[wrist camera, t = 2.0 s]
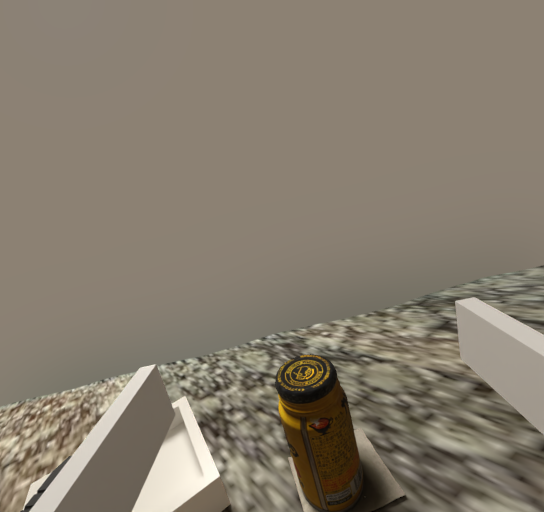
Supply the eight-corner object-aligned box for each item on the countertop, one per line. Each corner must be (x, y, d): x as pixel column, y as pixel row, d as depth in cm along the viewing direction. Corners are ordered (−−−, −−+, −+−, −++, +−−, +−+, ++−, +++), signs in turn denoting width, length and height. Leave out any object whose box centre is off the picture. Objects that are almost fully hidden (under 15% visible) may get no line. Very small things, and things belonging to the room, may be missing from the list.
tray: (193, 416, 38) (185, 396, 37) (230, 504, 26) (219, 476, 25) (45, 507, 30) (31, 483, 29) (-1, 693, 18) (-27, 661, 17)
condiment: (288, 459, 29) (259, 362, 26) (360, 429, 30) (340, 333, 27) (312, 542, 22) (276, 420, 19) (406, 497, 23) (385, 377, 20)
